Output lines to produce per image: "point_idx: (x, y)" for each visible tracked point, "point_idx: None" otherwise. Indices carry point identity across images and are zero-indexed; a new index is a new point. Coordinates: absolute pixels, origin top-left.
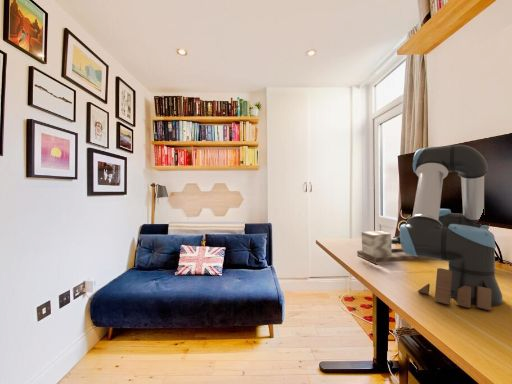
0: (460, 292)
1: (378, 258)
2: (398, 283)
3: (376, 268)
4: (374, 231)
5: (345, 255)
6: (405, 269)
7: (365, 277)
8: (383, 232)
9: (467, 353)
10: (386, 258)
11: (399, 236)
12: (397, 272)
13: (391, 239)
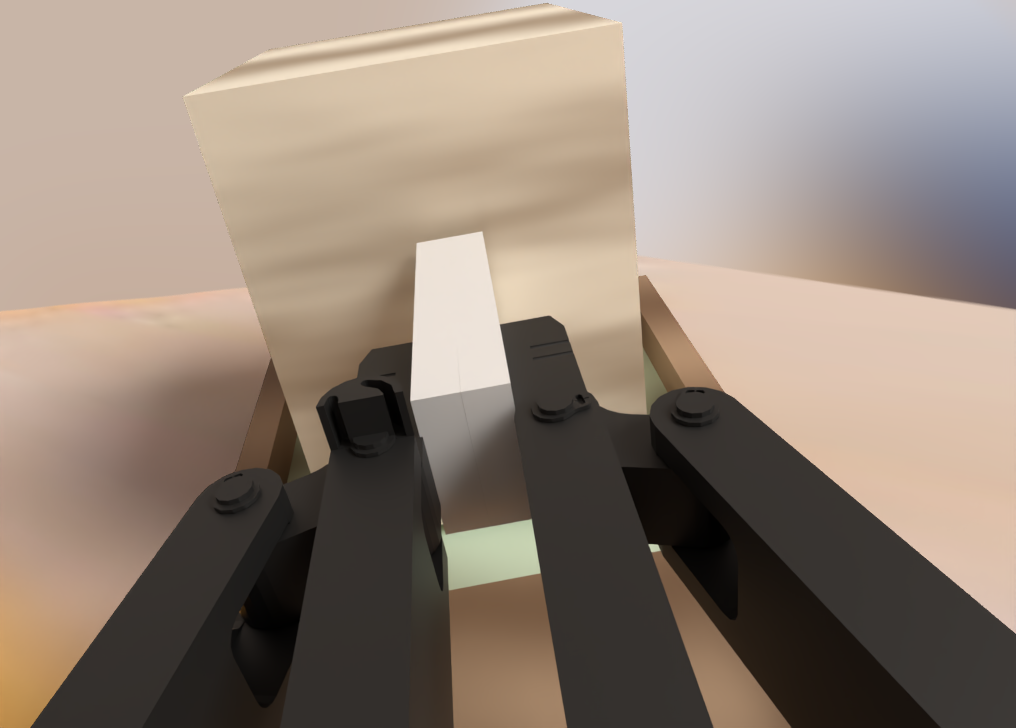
0: None
1: (271, 360)
2: None
3: (206, 385)
4: (534, 23)
5: (671, 277)
6: (4, 605)
7: (97, 305)
8: (366, 59)
9: None
10: (253, 430)
11: (945, 633)
12: (10, 489)
13: (415, 312)
